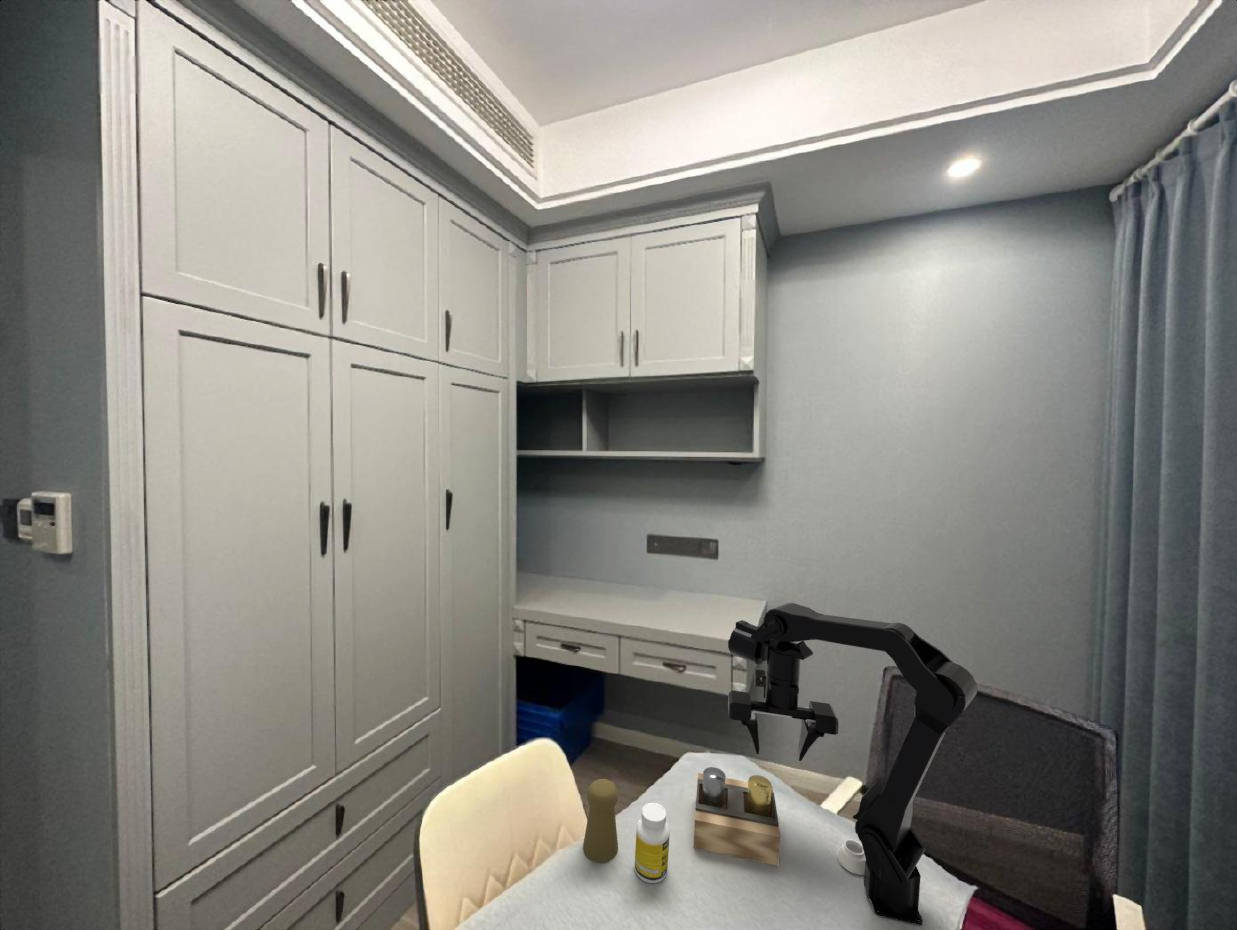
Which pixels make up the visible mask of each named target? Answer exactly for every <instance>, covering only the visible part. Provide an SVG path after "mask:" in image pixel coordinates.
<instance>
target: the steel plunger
mask: <svg viewBox="0 0 1237 930" xmlns="http://www.w3.org/2000/svg"><path fill="white" fill-rule="evenodd" d="M702 772H703V773H702V774H703V788H702V801H703V803H704V804H705V805H708V806H714V807H719V808H721V807H722V806H723V805H724V798H725V779H726V778H727V775H726V773H725V772H724V771H723V770H722V769H720V768H717V767H713V766H712V767H711V766H710V767H706V768H704V770H703V771H702Z"/></svg>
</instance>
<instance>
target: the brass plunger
mask: <svg viewBox="0 0 1237 930" xmlns="http://www.w3.org/2000/svg"><path fill="white" fill-rule="evenodd" d="M747 782H748V797H747V809H748V811H749V812H750V813H751V814H754V815H759V816H765V817H767V816H769V814H770V807H771V789H772V787H773V786H772V781H770V780H769V779H768V778H766V777H765V776H762V775H759V774H757V775H755V774H753V775H751V776H749V777H748V780H747Z"/></svg>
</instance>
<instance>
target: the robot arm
mask: <svg viewBox="0 0 1237 930" xmlns="http://www.w3.org/2000/svg"><path fill="white" fill-rule="evenodd" d="M763 618H764V619H763V623H762V624H761V625H760V626H757V625H754V624H751V623H749V622H748V621H746V620H743V619H741V620H738V621H736V622H735V628H733V630H732V632H731V633H730V637H729V639H728V641H727V642H728V643H727V647H728V651H729V653H730V654H732V655H734V656H736V657H739V658H741V659H744V660H746V661H748V662H750V663H752V664H755V665H761V664H763V662H766V671H765V670H764V669H763V668H754V672H753V673H754V675H753V677H754V678H753V680H754V681H753V682H754V683H753V684H754V686H755V687H759V688H762V689H763V690H762V697H763V699H764V701H759V700H752V699H751V693H750V692H746V691H739V690H731V691H730V692H728V696H727V697H728V700H727V707H728V710H727V711H728V719H730V720H733V721H740V724H741V725H742V726H745V727H746V728H747V730H748V733H749V735H750V736H751V739H752V742H753V746H754V751H755V753H756V755H759V754H760V739H759V726H758V718H757V714H760V715H761V714H762V715H768V716H775V717H776V716H777V717H782V718H789V719H796V720H801V729H800V734H799V742H798V748H797V759H798V761H799V762H802V760H803V759H804V758H805V755H806V754H807V752H809V750H810V748H811V747H812V746H813V744H814V743H815V742H816V741H817V740H818V738H824V737H825V734H827V735H833V736H836V735H838V734H839V726H840V725H839V719H838V716H837V715H836V711H835V709H834V708H833V706H832V705H831V704H830V703H828V702H827V703H826V702H819V701H814V700H810V701H809V703H808V706H805V707H800V706H798V705H799V695H800V692H799V691H800V672H801V661H804V660H806V659H808V658H810V657H811V656H813V655H814V652H813V651H812V649H811V648H810V647H808V645H807V644H806V642H805V641H821V642H828V643H833V644H838V645H839V644H840V645H844V646H850V647H857V648H861V649H868V650H873V651H879V652H885V653H886V654H887V655H888V656H889V657H890V658H891V659H892V661H893V662H894V663H895V665H896V667H897V669H898V670H899V672H900V673H901V675H902V676H903V678H904V680H905V681H906V682H907V683H908V684H909V685H910V686H911V688H913V689H914V690H915V691H916V693H915V698H914V705H913V709H914V711H913V712H914V714H913V715H914V716H913V721H912V724H911V726H910V727H909V730H908V731H907V734H906V736H905V739H904V741H903V743H902V745H901V747H900V749H899V752H898V753H897V757H896V759H895V760H894V762H893V765H892V767H891V770H890V772H889V774H888V776H887V778H886V780H885V783H884V785H881V784H880V783H879V782H878V781H875V782H874V783H873V784H872V785H871V786H870V787H869V789H868V790H867V791H866V792H865V793H864V794H863V795H862V797H861V799H860V803H859V808H858V809H857V810H856V812H855V813H854V814H853V815H852V818H853V820H855V821H856V822H855V824H854V832H855V834H856V835H857V838H858V839H859V841H860V844H861V845H862V847H863V850H864V854H865V858H866V861H865V871H864V875H863V886H864V889H865V892H866V894H867V895H866V896H867V898H868V899H869V900H870V903H871V906H872V908H873V912H874V914H875V915H876V916H878V917H883V918H886V919H891V920H895V921H900V922H904V923H909V924H913V925H916V926H917V925H918V926H923V924H924V921H923V918H922V916H921V914H920V913H921V912H920V911H919V905H920V903H919V901H920V891H921V890H920V889H921V877H922V876H921V873H920V871H919V868H918V867H917V865H918V862H920V860H921V858H922V856H923V855H924V854H925V851H926V848H925V847H926V846H924V844H923V843H922V842H921V840H920V838H919V837H918V836H917V834H916V832H915V831H914V830H913V828H912V826H911V824H912V819H913V802H914V799H915V797H916V795H917V792H918V791H919V789H920V786H921V785H922V782H923V780H924V779H925V776H926V774H927V772H928V769H929V768H930V766H931V764H932V761H933V759H934V757H935V755H936V753H937V751H938V749H939V747H940V745H941V743H942V741H943V739H944V737H945V734H946V732H947V731H948V730H949V729H950V727H952V726H953V724H954V723H955V722H956V720H957V719H959V717H960V716H961V715H962V714H963V713H964V712H965V710H966V709H967V708H968V706H969V705H970V704H971V702H972V701H973V699H974V698H975V697H976V696H977V694H978V693H977V692H978V688H979V687H978V683H977V682H976V680H975V678H974V676H973V675H972V674H971V673H970V671H968V670H967V669H966V668H965V667H963V666H962V665H960V664H957V663H956V662H953V660H951V659H950V658H949V657H948V656H947V655H946V654H945V653H944V652H943V651H942V650H941V649H939V648H937V647H936V646H935V645H933V644H932V643H930V642H928V641H927V640H925V639H924V638H922V637H920V635H918V634H917V633H916V632H915V631H914V629H912V627H910V626H908V625H907V624H905V623H902V622H883V621H876V620H868V619H861V618H854V617H845V616H838V615H830V614H824V613H821V612H818V611H815V610H813V609H812V608H810V607H808V606H804V605H801V604H798V603H794V602H788V603H784V604H782V605H780V606H779V605H778V606H775V608H771V609H769V610H768V611H767V612H766V613H765V615H764V617H763Z"/></svg>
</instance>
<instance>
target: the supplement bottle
mask: <svg viewBox="0 0 1237 930" xmlns="http://www.w3.org/2000/svg"><path fill="white" fill-rule="evenodd" d="M640 817H641V818H640V819H638V821H637V823H636V831H635V832H636V834H635V849H634V850H635V851H634V871H635V873H636V875H637V877H638V878H639V879H640V880H641V881H643V882H646V883H647V884H658V883H660V882H661V881H663V880H664V879H665V878H666V876H667V873H668V868H669V867H668V865H669V852H670V850H669V849H670V834H671V833H670V832H671V831H670V826H669V823H668V822H667V811H666V809H665V807H664V806H663V805H661V804H659V803H656V802H650V803H649V802H648V803H646V804H645V805H643V807H642V809H641V816H640Z"/></svg>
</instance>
